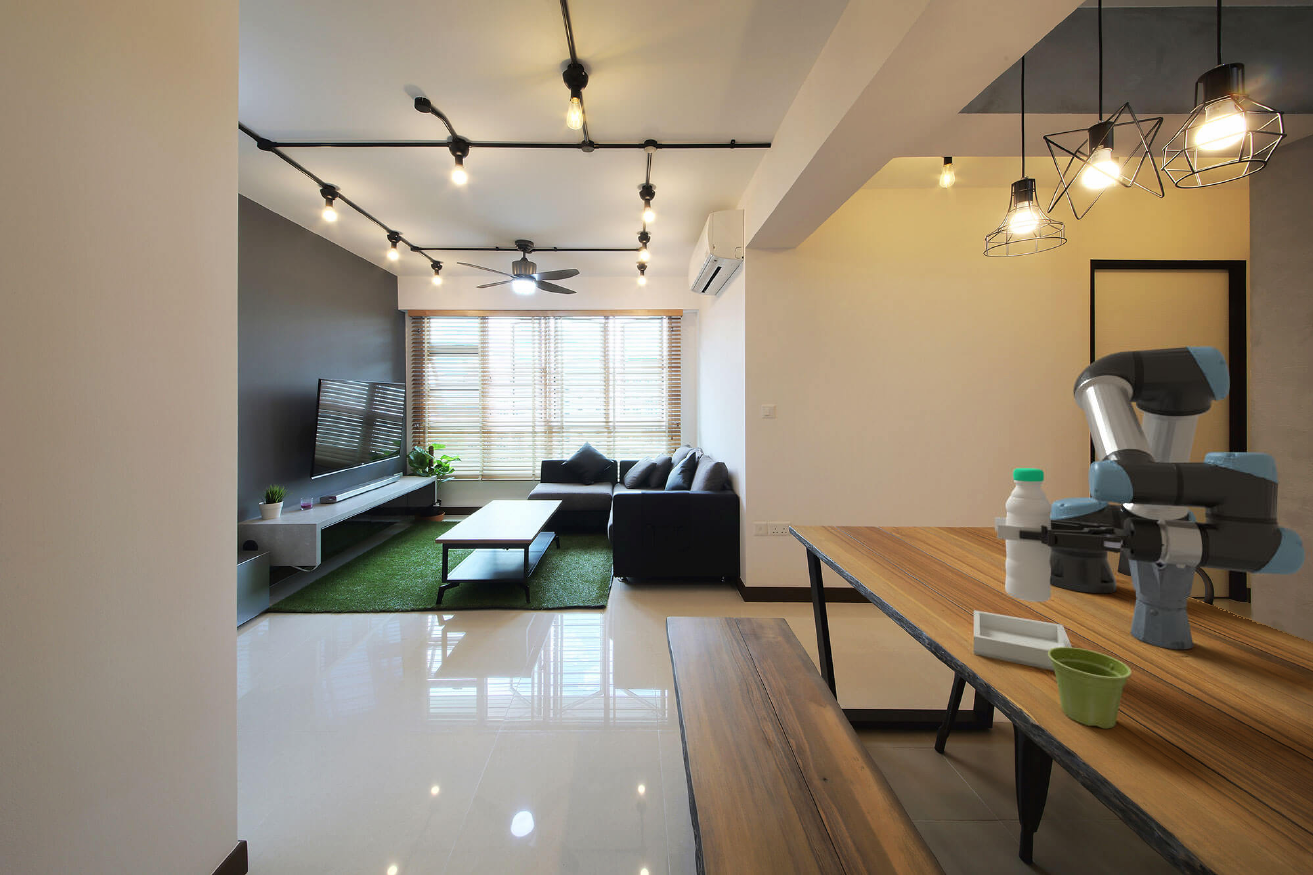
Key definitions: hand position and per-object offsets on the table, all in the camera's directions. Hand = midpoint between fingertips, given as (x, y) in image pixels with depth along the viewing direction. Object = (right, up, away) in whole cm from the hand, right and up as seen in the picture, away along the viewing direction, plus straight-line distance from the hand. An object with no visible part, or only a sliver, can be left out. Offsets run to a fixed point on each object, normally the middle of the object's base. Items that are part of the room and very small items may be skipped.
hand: (996, 527), depth 96 cm
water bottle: (+4, -13, -2) cm, 14 cm away
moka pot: (+34, -23, +2) cm, 41 cm away
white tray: (+4, -24, -1) cm, 24 cm away
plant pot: (-2, -25, -23) cm, 34 cm away
